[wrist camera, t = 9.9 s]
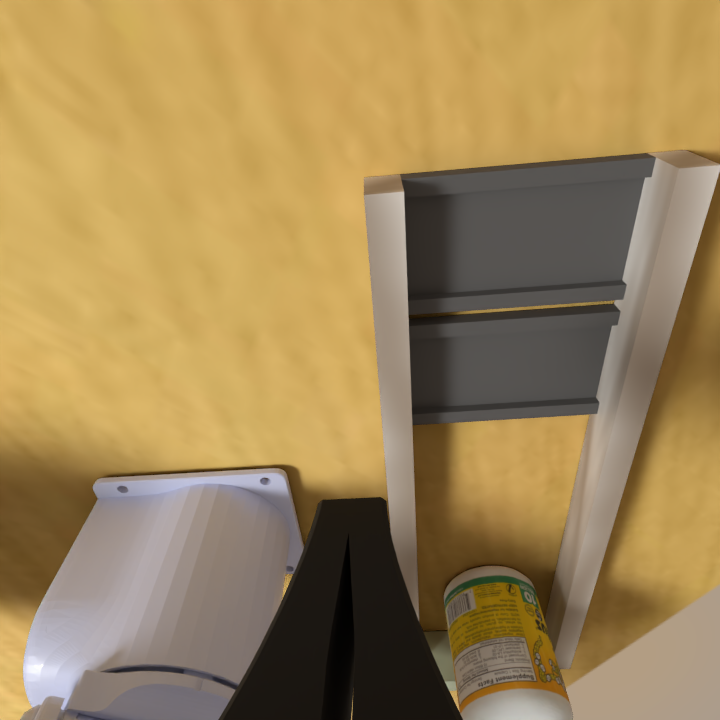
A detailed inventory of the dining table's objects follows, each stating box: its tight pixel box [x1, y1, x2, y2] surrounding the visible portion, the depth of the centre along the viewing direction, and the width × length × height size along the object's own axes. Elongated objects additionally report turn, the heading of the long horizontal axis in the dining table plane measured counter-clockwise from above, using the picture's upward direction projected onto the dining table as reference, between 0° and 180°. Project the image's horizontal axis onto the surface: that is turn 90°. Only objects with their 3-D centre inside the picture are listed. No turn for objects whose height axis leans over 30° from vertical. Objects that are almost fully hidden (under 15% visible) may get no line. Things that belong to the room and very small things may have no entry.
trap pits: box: [400, 153, 656, 425], centre depth 19 cm, size 8×10×1 cm
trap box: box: [364, 150, 720, 691], centre depth 24 cm, size 10×30×3 cm, turn 5°
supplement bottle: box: [444, 566, 573, 720], centre depth 26 cm, size 5×5×10 cm
